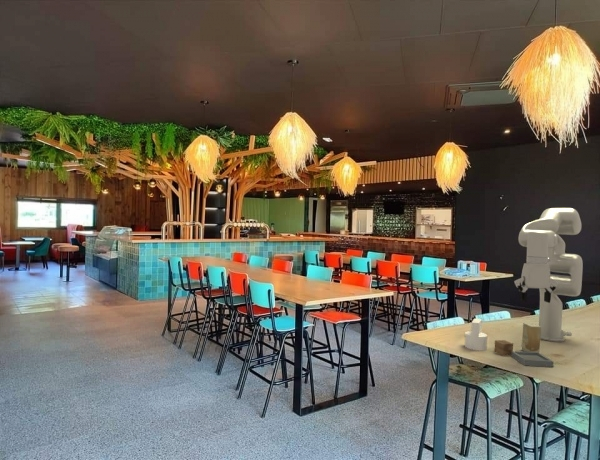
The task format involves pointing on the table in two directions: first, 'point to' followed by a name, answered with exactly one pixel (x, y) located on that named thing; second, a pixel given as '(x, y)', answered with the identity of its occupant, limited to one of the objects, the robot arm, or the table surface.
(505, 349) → the walnut block
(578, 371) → the table surface
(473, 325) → the base with upright slab
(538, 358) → the slate tray
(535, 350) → the skincare box
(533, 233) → the robot arm
